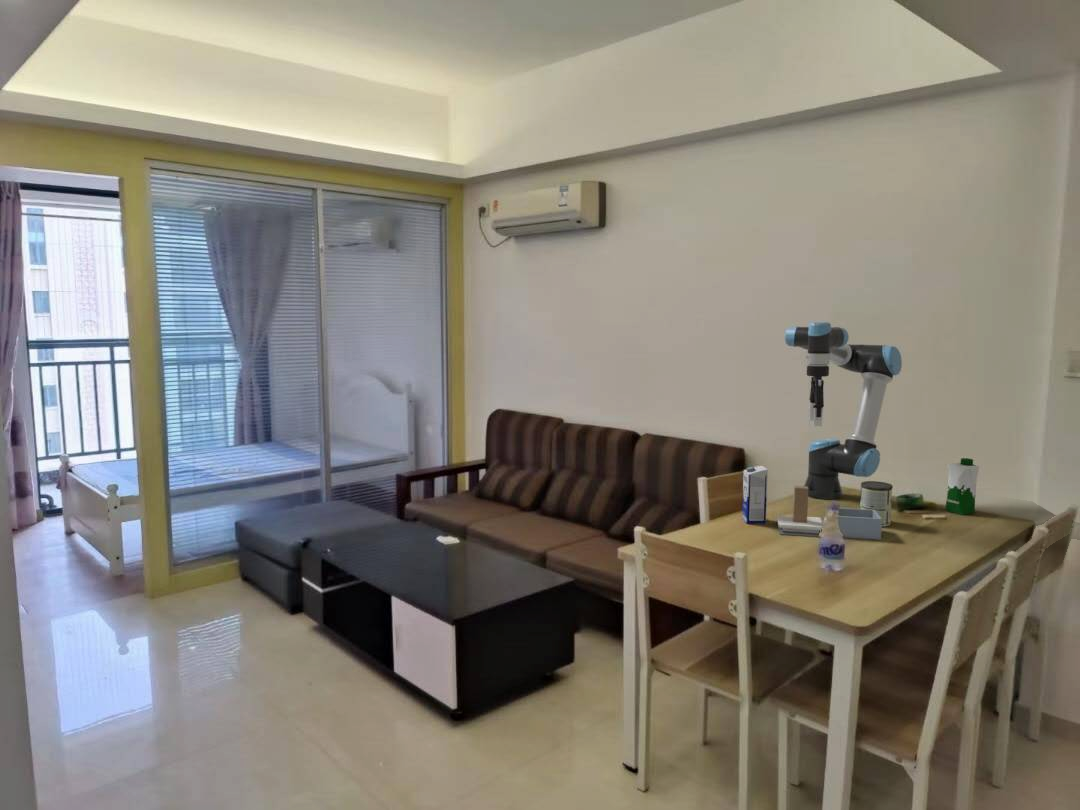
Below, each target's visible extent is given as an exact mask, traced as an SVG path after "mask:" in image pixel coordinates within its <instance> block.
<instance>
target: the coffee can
mask: <svg viewBox="0 0 1080 810" xmlns="http://www.w3.org/2000/svg"><path fill="white" fill-rule="evenodd" d="M893 487H894V486H893V485H892V484H891V483H888V482H884V481H875V480H868V481H862V482H861V483H860V505H859V509H871V510H875V511H876V512H877V513H878V515H879V516H880V517H881V519H882V525H881V528H882V527H883V528H884V527H889V526H890V525H891V514H892V513H891V512H892V500H893V499H892V494H893Z"/></svg>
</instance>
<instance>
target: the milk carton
mask: <svg viewBox="0 0 1080 810" xmlns="http://www.w3.org/2000/svg"><path fill="white" fill-rule="evenodd" d="M768 470H769V469H768V468H766V467H765V466H763V465H757V466H749V467H747V468H746V469H743V479H742V480H743V481H742V484H743V485H742V506H741V507H742V509H741V510H742V511H741V512H742V514H741V518H742V520H743V521H744V522H745V523H746V524H749V525H751V524H752V525H758V524H760V525H761V524H762V525H763V524H764V525H765V524H767V523H766V522H767V502H768V501H767V499H768V498H767V497H768V495H767V494H768V473H769V471H768Z"/></svg>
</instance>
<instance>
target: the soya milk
mask: <svg viewBox="0 0 1080 810" xmlns="http://www.w3.org/2000/svg"><path fill="white" fill-rule="evenodd" d="M946 466H947V467H946V468H947V472H948V479H947V496H946V502H945V509H944V510H945V511H946V512H949V513H953V514H957V515H962V516H963V515H968V514H969V515H970V514H975V512H976V511H975V509H976V507H975V506H976V493H977V478H978V474H979V469H980V465H975V464H974V459H972V458H968V457H967V458H966V457H962V458H960V462H953V463H949V464H948V463H947V464H946Z"/></svg>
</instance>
